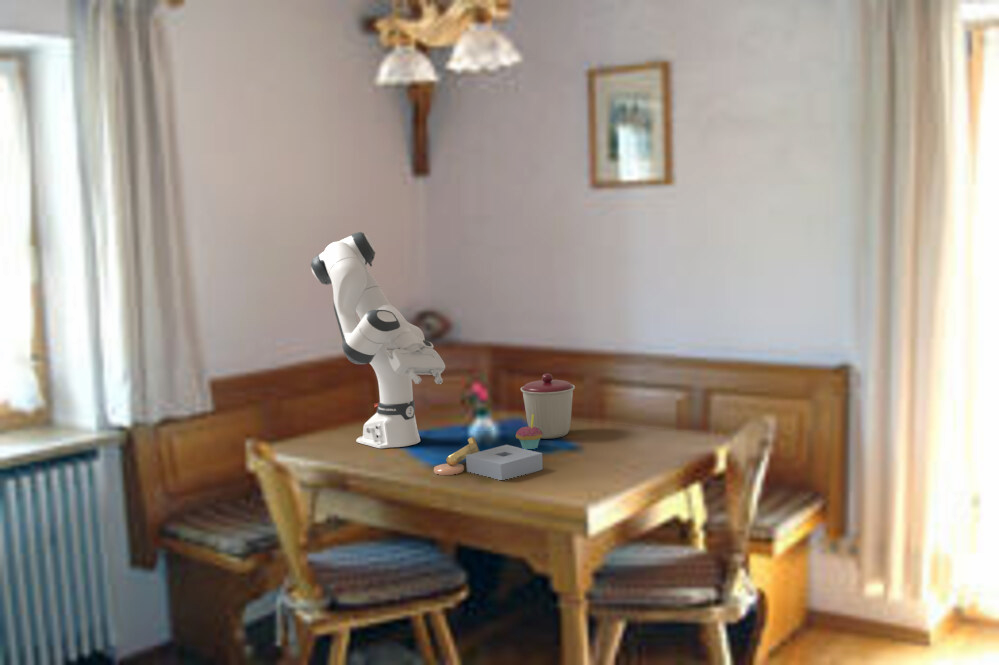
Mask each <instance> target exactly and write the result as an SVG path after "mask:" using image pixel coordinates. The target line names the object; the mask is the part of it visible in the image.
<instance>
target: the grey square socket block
mask: <svg viewBox="0 0 999 665" xmlns="http://www.w3.org/2000/svg"><path fill="white" fill-rule="evenodd" d="M465 461H466V462H465V463H466V472H467V473H470V472H471V473H470V474H474V473H475V474H474V475H477V474H479V475H478V476H481V475H483V476H482V477H484V476H487V477H486V478H488V477H491V478H490V479H492V478H494V479H493V480H495V479H498V480H497V481H499V480H505V479H508V480H510V479H509V478H512V479H514V478H513V477H515V478H518V477H517V476H519V477H521V475H522V476H525V474H526V475H530V474H532V473H537V472H539V471H542V470H544V467H543V461H544V460H543V453H542V452H539V451H533V450H527V449H523V448H522V447H518V446H513V445H509V444H504V445H500V446H497V447H492V448H488V449H485V450H481V451H480V450H479V452H477V453H473V454H469V455H466V458H465ZM505 481H506V480H505Z"/></svg>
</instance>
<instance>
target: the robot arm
mask: <svg viewBox="0 0 999 665" xmlns="http://www.w3.org/2000/svg"><path fill="white" fill-rule="evenodd" d="M375 255H376V252H375V246H374V243H373V241H372V238H370V237H369V236H368V235H367V234H365V233H364V232H361V231H357V232H355V233H352V234H351V235H349V236H347V237H345V238H343V239H340V240H339V241H333V242H331V243H330V244H328V245H327V246H326V247H325V248H324V251H322V252H321V253H320V254H317V255H315V256H314V257H313V259H311V263H310V266H311V267H310V268H311V273H312V275H313V277H314V278H315V279H316V280H317V281H318V282H320V283H321V284H322V285H326V286H328V285H331V286H332V291H333V292H332V293H333V301H332V302H333V303H332V304H333V309H334V311H333V312H334V314H335V318H336V321H337V325H338V329H339V332H340V335H341V339H342V349H343V353H344V355H345V357H346V358H347V360H348V361H349V362H351V363H353V364H355V365H367V364H370V365H371V367H372V369H373V370H374V373H375V376H376V379H377V383H378V392H379V395H378V396H379V401H378V402H377V403H374V404H373V405H374V408H376V412H375V413H374V414H373V415H372V416H371V417H370V418H369V419H368V420H367V421H366V422H364V424H363V428H362V429H363V430H362V436H359V437H358V438H356V443H359V444H362V445H366V446H369V447H373V448H377V449H388V448H400V447H409V446H412V445H417V444H418V443H420V442H421V438H420V434H419V430H418V426H417V419H416V415H415V411H416V407H415V406H416V403H415V400H414V397H413V396H414V395H413V394H414V393H413V382H414V384H417V385H419V384H421V382H422V381H423V380H422V378H421V376H420V375H424V376H425V375H430V376H431V375H432V377H434V380H433V381H434V383H435V384H436V385H441V384H442V383H443V382H444V379H443V378H442V375H441V374H442V373H443V372H444V371H445V369H446V364H445V362H444V360H443V359H442V357H441V356H440V354H439V353H438V352H437V351H436V350H435V349H434V344H433V343H432V342H431V341H428V340H426V339H425V335H424V332H423V331H422V329H421V328H420V327H418V325H417V326H416V325H414V324H412V323H410V322H409V321H408V320H406V318H405V317H404V316H403V315H402V313H401V312H400V311H399V310H398V309H397V308H396V307H395V306H394V305H392V304H391V303H390V301H389V300H388V298H387V297H386V295H385V293H384V291H383V290H382V288H381V285H379V282H378V281H377V280H376V278H375V277H374V276H373V274H372V273H371V272H370V270H369V269H368V268H367V264H368V265H369V267H372V266H373V264H372V263H373V261H374V259H375ZM356 314H357V315H356ZM356 316H358V317H359V320H360V321H359V323H358V320H357V317H356Z"/></svg>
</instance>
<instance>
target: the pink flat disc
mask: <svg viewBox="0 0 999 665" xmlns="http://www.w3.org/2000/svg"><path fill="white" fill-rule="evenodd" d="M463 471H464V472H465V466H464V464H461V463H457V464H456V465H454V466H449V465H448V464H447V463H442V464H438V465H436V466H434V467H433V473H434V474H435V475H437V474H439V475H438V476H445V475H446V476H455V475H454V474H456V475H459V474H458V473H460V474H462V473H464V472H463ZM461 472H462V473H461Z"/></svg>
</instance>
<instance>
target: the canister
mask: <svg viewBox="0 0 999 665" xmlns="http://www.w3.org/2000/svg"><path fill="white" fill-rule="evenodd" d="M575 388H576V387H575V385H574V384H572V383H571V382H569V381H566V380H561V379H553V375H552V374H551V373H544V374H542V375H541V380H540V379H539V380H534V381H531V382H527V383H525V384H524V386H521V387H520V392H522V397H523V403H524V408H525V415H526V416H525V417H526V421H527V426H531V420H532V414H533V412H534V420H533V426H534V427H537V428H539V429H540V430H541V431H542V433H543V434H542V438H541V439H548V440H549V439H558V438H563V437H564V436H566V435H568V433H569V432H570V428H571V423H572V422H571V420H572V409H573V408H572V407H573V396H574V395H573V394H574V392H573V391H574V390H575Z"/></svg>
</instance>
